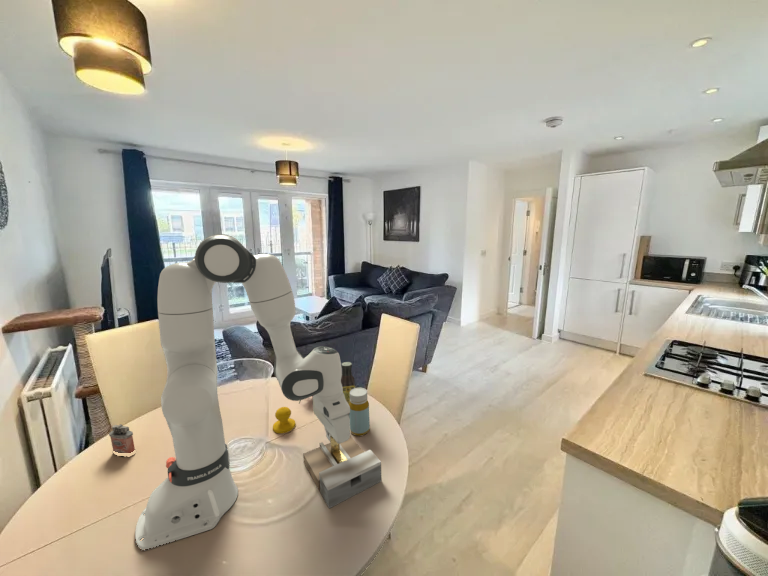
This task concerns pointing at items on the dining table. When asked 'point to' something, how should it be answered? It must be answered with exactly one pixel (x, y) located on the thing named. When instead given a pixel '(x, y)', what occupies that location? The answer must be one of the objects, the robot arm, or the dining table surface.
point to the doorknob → (283, 421)
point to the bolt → (336, 451)
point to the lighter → (122, 439)
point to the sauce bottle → (347, 380)
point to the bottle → (359, 412)
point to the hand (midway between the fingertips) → (330, 439)
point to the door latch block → (342, 471)
